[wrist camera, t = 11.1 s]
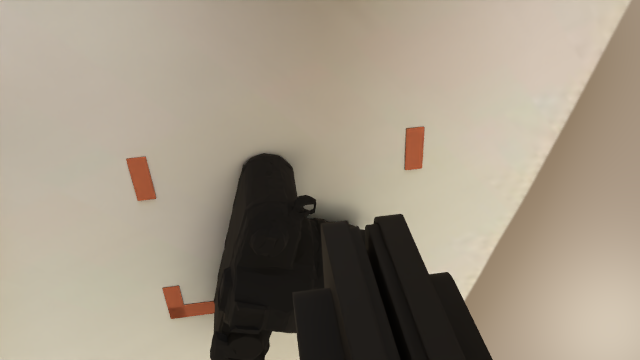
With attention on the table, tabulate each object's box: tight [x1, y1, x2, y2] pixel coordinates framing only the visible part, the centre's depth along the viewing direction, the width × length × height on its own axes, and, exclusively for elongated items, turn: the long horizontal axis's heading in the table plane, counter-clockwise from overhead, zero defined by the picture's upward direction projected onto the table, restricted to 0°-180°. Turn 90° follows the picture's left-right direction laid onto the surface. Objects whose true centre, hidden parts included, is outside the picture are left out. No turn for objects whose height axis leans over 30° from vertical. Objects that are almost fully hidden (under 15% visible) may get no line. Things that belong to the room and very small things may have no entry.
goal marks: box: [126, 127, 424, 319], centre depth 40 cm, size 14×19×1 cm
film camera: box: [210, 154, 365, 360], centre depth 36 cm, size 15×10×9 cm, turn 165°
